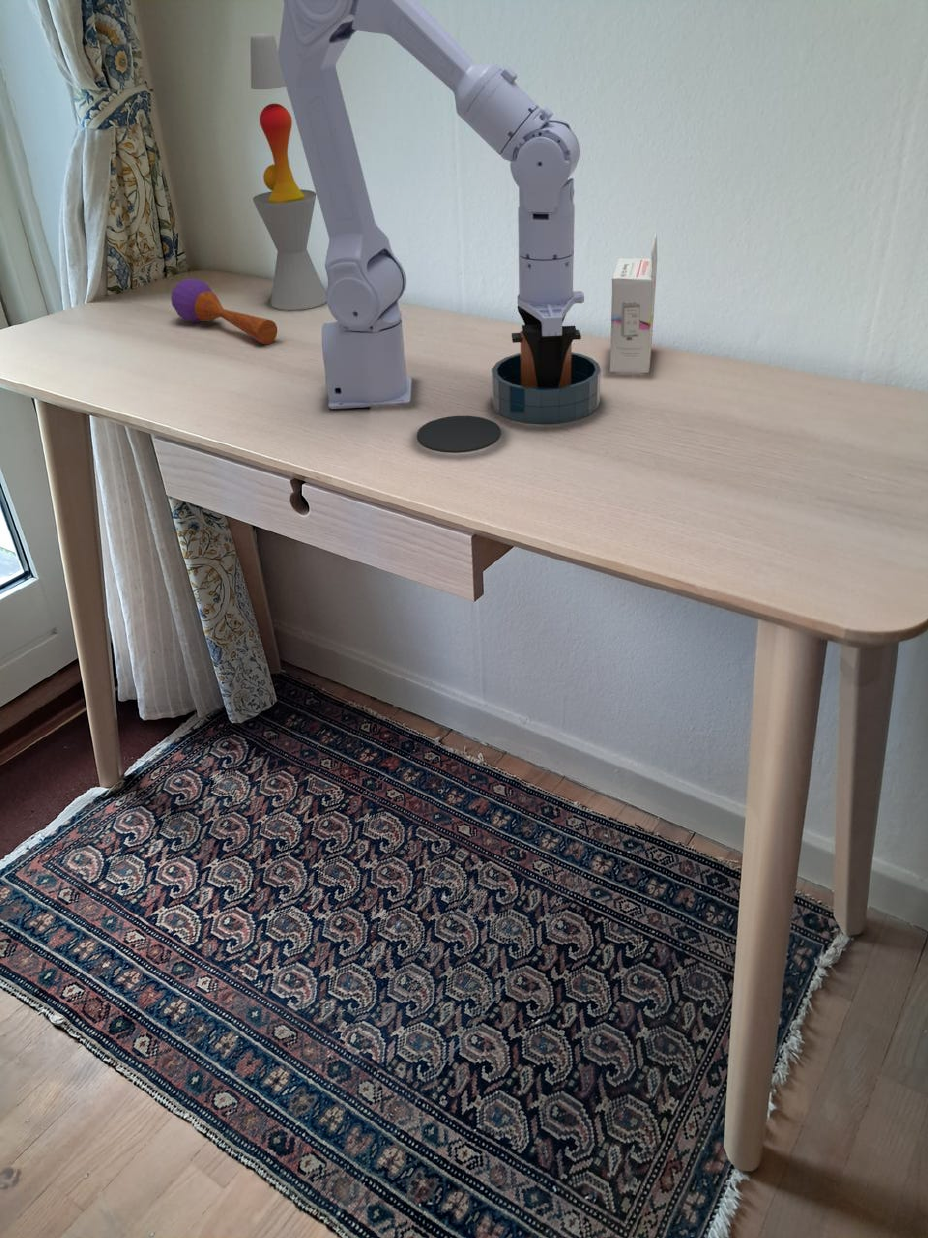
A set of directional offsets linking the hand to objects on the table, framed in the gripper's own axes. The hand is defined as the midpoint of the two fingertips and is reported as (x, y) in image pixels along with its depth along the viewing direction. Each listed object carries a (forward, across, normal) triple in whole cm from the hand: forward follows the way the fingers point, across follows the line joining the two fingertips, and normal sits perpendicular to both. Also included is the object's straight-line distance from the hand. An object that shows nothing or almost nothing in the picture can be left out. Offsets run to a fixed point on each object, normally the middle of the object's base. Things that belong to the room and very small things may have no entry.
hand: (545, 378), depth 110 cm
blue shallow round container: (+3, 0, 0) cm, 3 cm away
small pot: (+3, 0, 0) cm, 3 cm away
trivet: (+3, -8, +10) cm, 13 cm away
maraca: (+4, +33, +42) cm, 54 cm away
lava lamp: (+4, +45, +34) cm, 56 cm away
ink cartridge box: (+4, +12, -12) cm, 17 cm away
